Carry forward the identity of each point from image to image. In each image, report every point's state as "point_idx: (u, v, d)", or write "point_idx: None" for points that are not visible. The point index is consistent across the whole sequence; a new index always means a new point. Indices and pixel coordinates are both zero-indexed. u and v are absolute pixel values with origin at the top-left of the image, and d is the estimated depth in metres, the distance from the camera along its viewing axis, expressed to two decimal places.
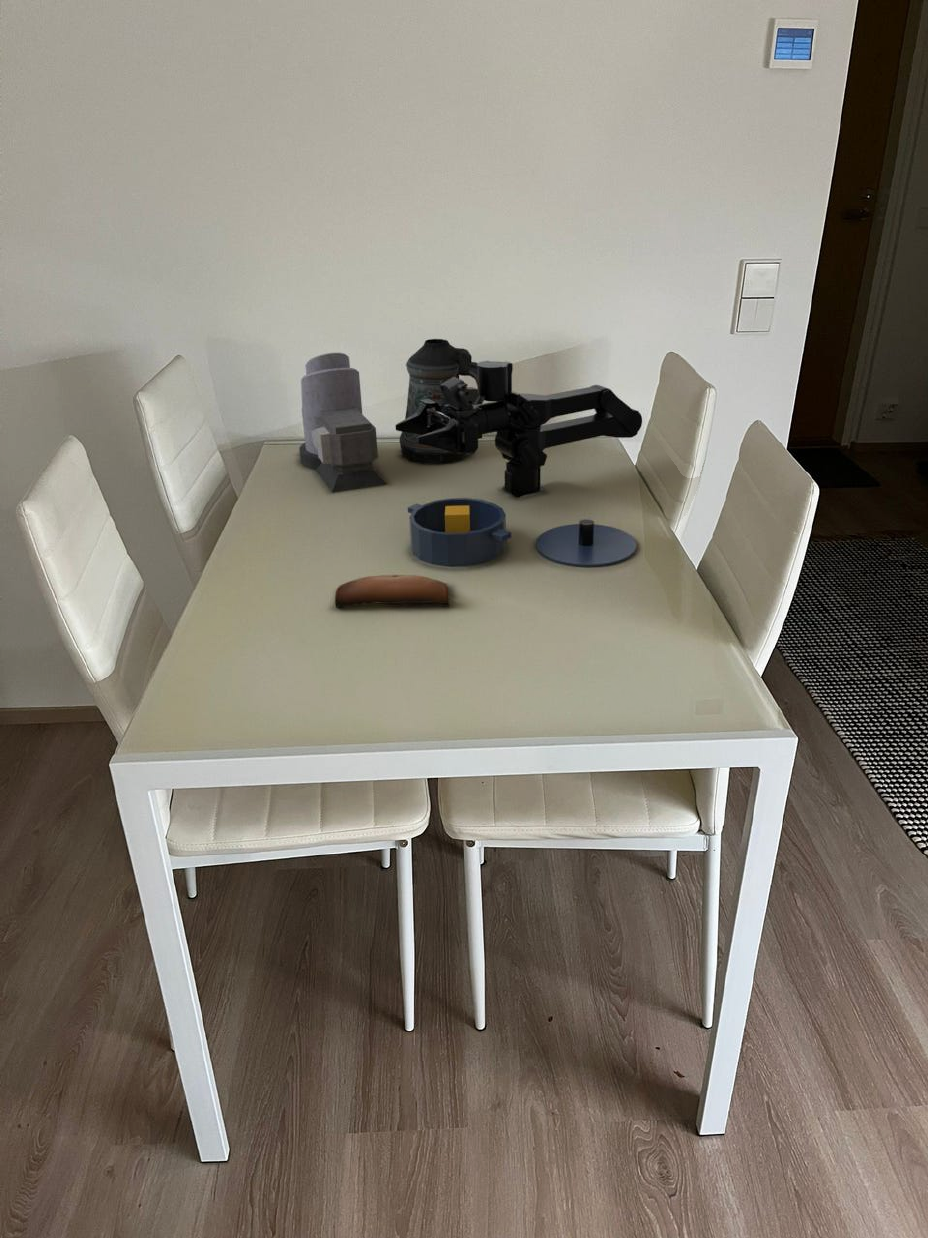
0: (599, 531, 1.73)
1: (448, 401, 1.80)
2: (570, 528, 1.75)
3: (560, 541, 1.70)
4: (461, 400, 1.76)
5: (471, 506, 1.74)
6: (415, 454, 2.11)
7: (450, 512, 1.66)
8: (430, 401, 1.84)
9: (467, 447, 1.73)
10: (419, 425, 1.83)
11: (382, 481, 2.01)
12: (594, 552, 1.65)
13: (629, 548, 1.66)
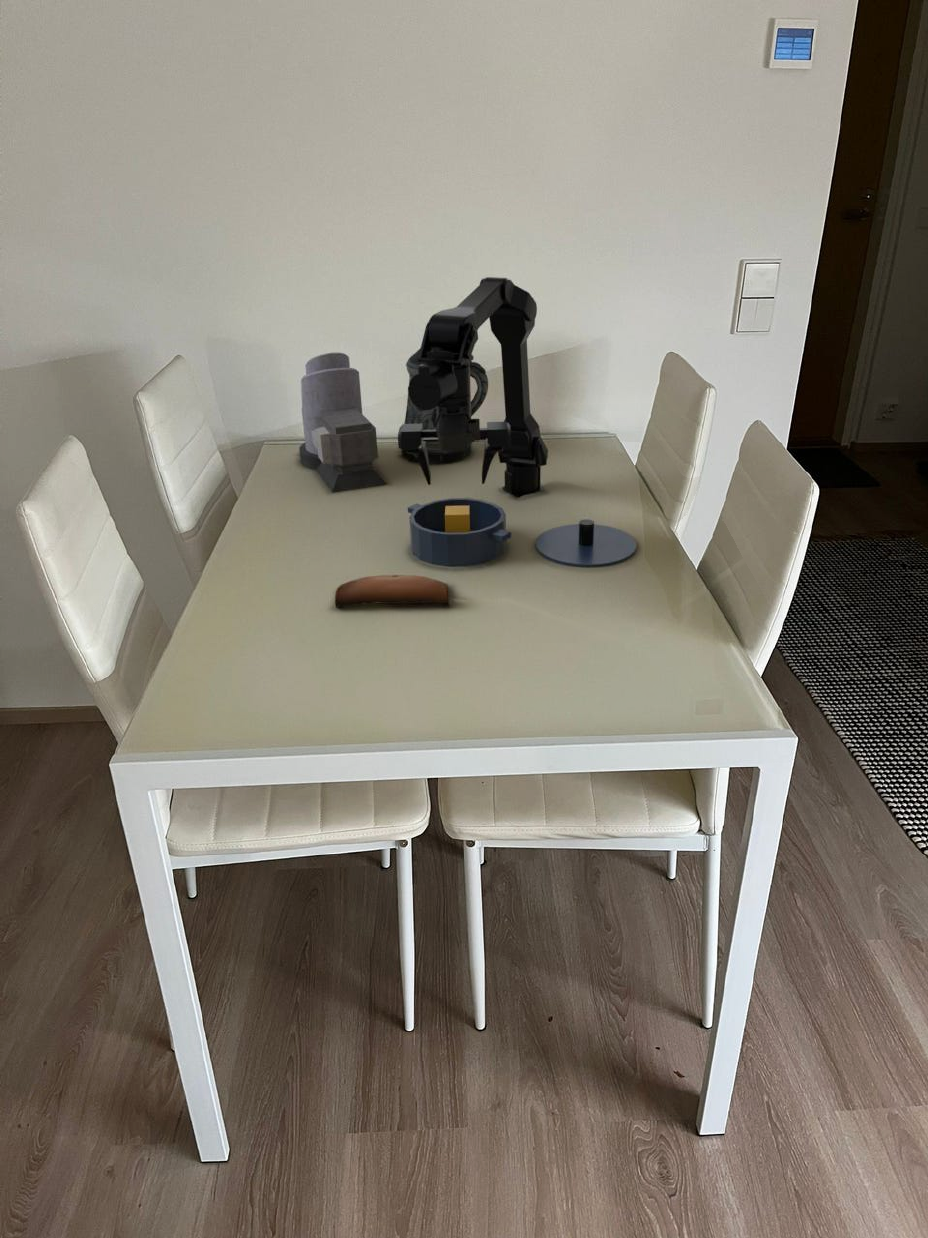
0: (599, 531, 1.73)
1: None
2: (570, 528, 1.75)
3: (560, 541, 1.70)
4: None
5: (471, 506, 1.74)
6: None
7: (450, 512, 1.66)
8: (413, 441, 1.58)
9: None
10: (426, 454, 1.63)
11: (382, 481, 2.01)
12: (594, 552, 1.65)
13: (629, 548, 1.66)
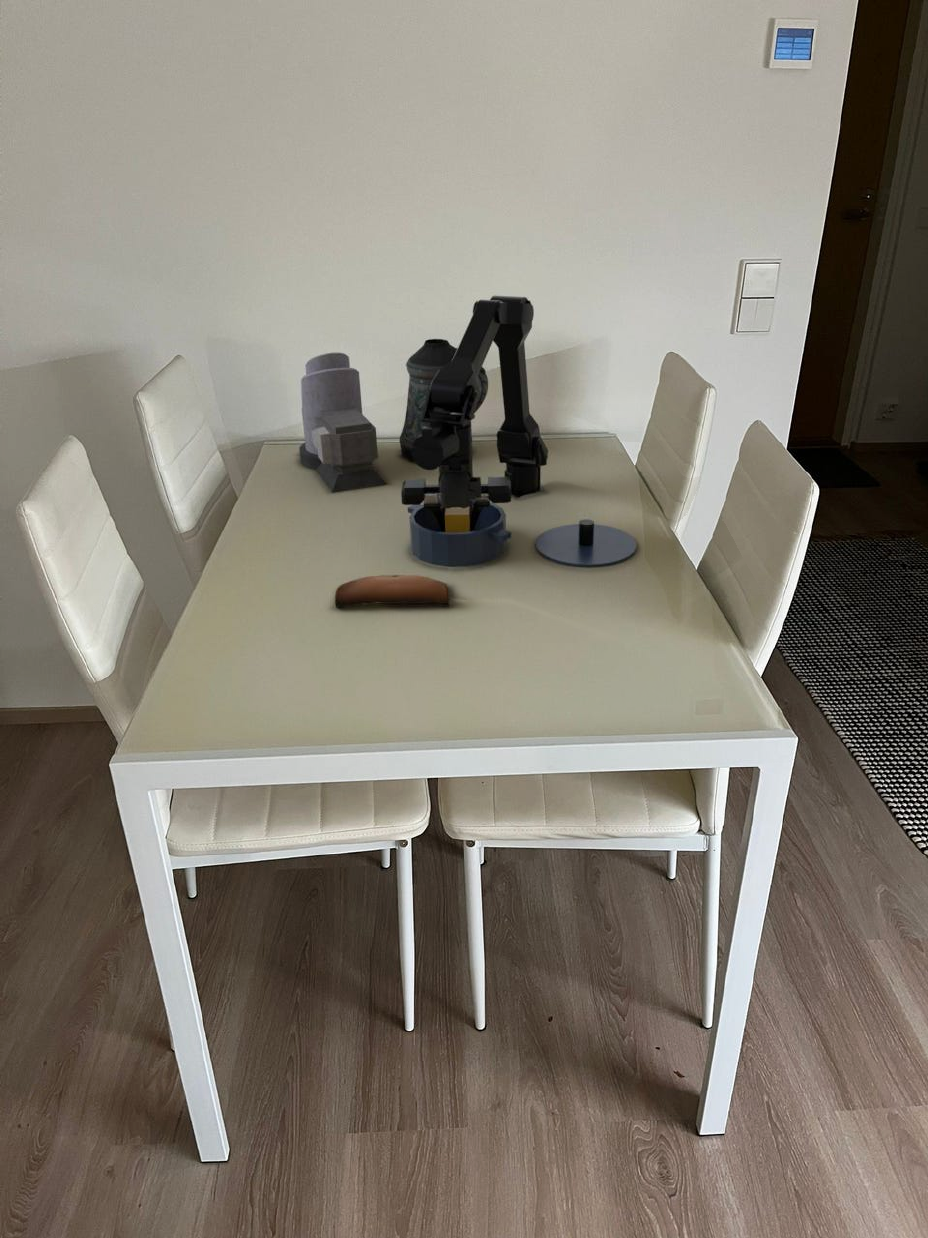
0: (599, 531, 1.73)
1: None
2: (570, 528, 1.75)
3: (560, 541, 1.70)
4: None
5: (471, 506, 1.74)
6: None
7: (450, 512, 1.66)
8: (416, 497, 1.63)
9: None
10: (442, 508, 1.68)
11: (382, 481, 2.01)
12: (594, 552, 1.65)
13: (629, 548, 1.66)
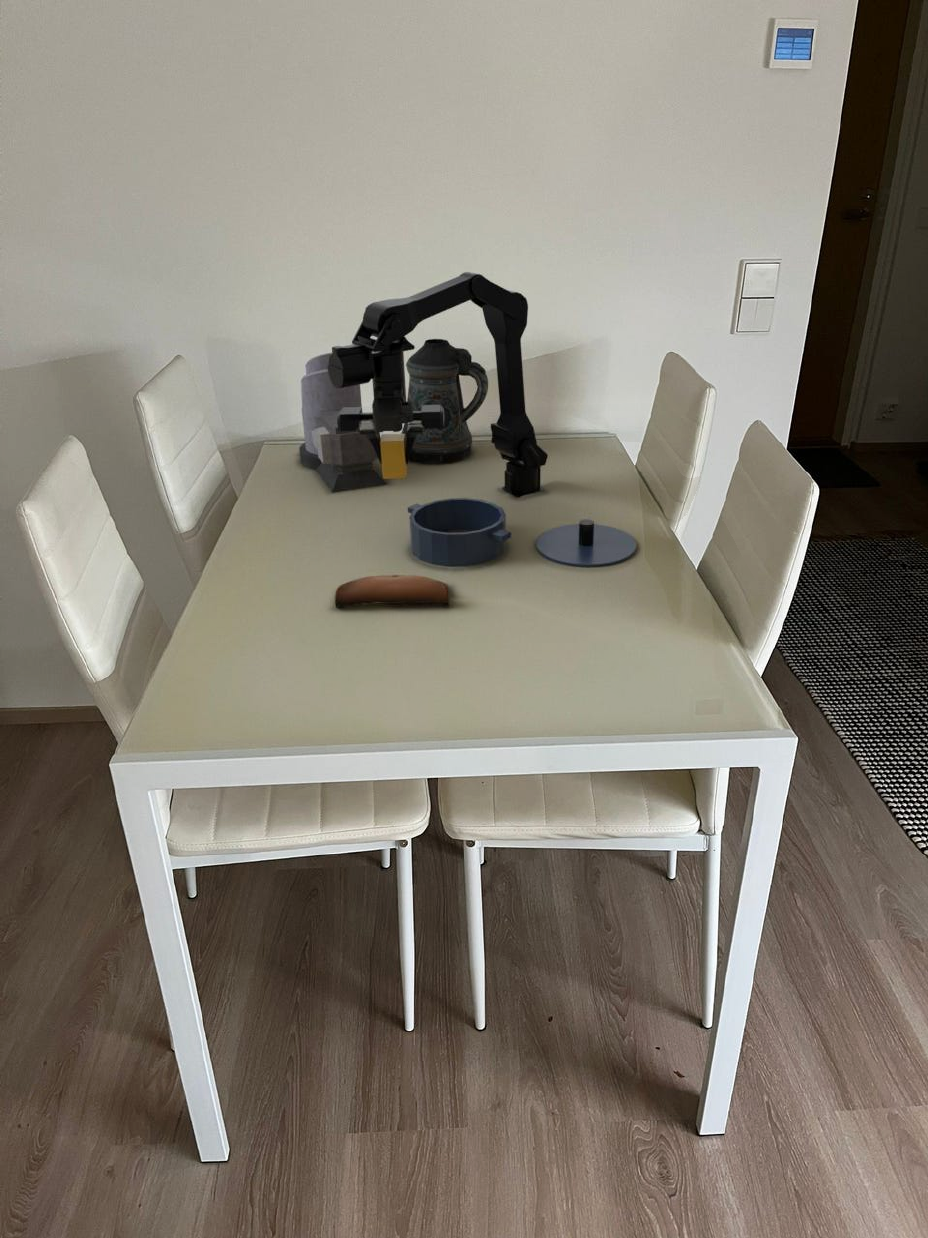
0: (599, 531, 1.73)
1: None
2: (570, 528, 1.75)
3: (560, 541, 1.70)
4: None
5: (471, 506, 1.74)
6: (415, 454, 2.11)
7: (385, 439, 1.72)
8: (351, 423, 1.69)
9: None
10: (378, 436, 1.73)
11: (382, 481, 2.01)
12: (594, 552, 1.65)
13: (629, 548, 1.66)
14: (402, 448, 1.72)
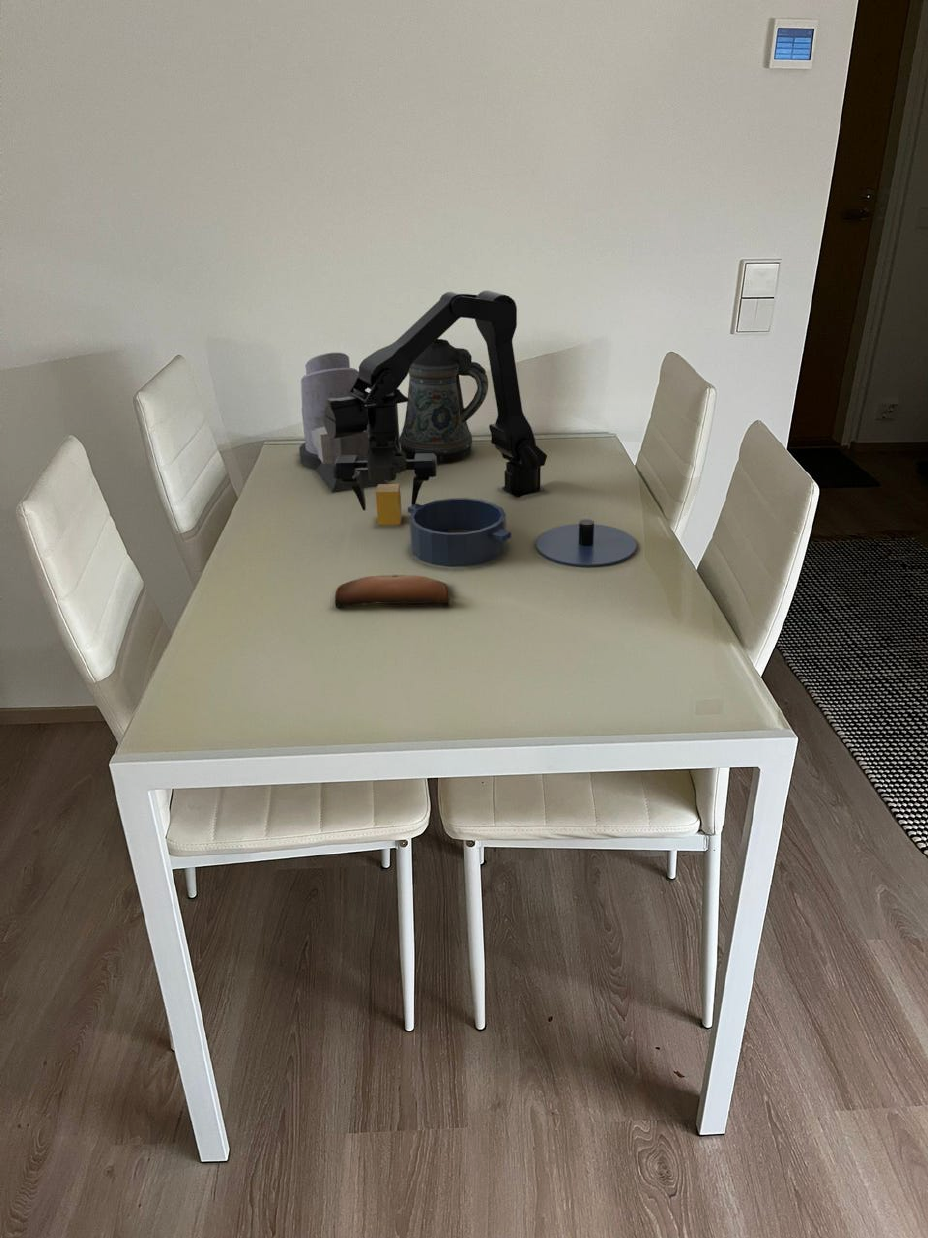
0: (599, 531, 1.73)
1: None
2: (570, 528, 1.75)
3: (560, 541, 1.70)
4: None
5: (471, 506, 1.74)
6: None
7: (380, 489, 1.78)
8: (347, 472, 1.75)
9: None
10: (361, 483, 1.80)
11: (382, 481, 2.01)
12: (594, 552, 1.65)
13: (629, 548, 1.66)
14: (396, 498, 1.78)
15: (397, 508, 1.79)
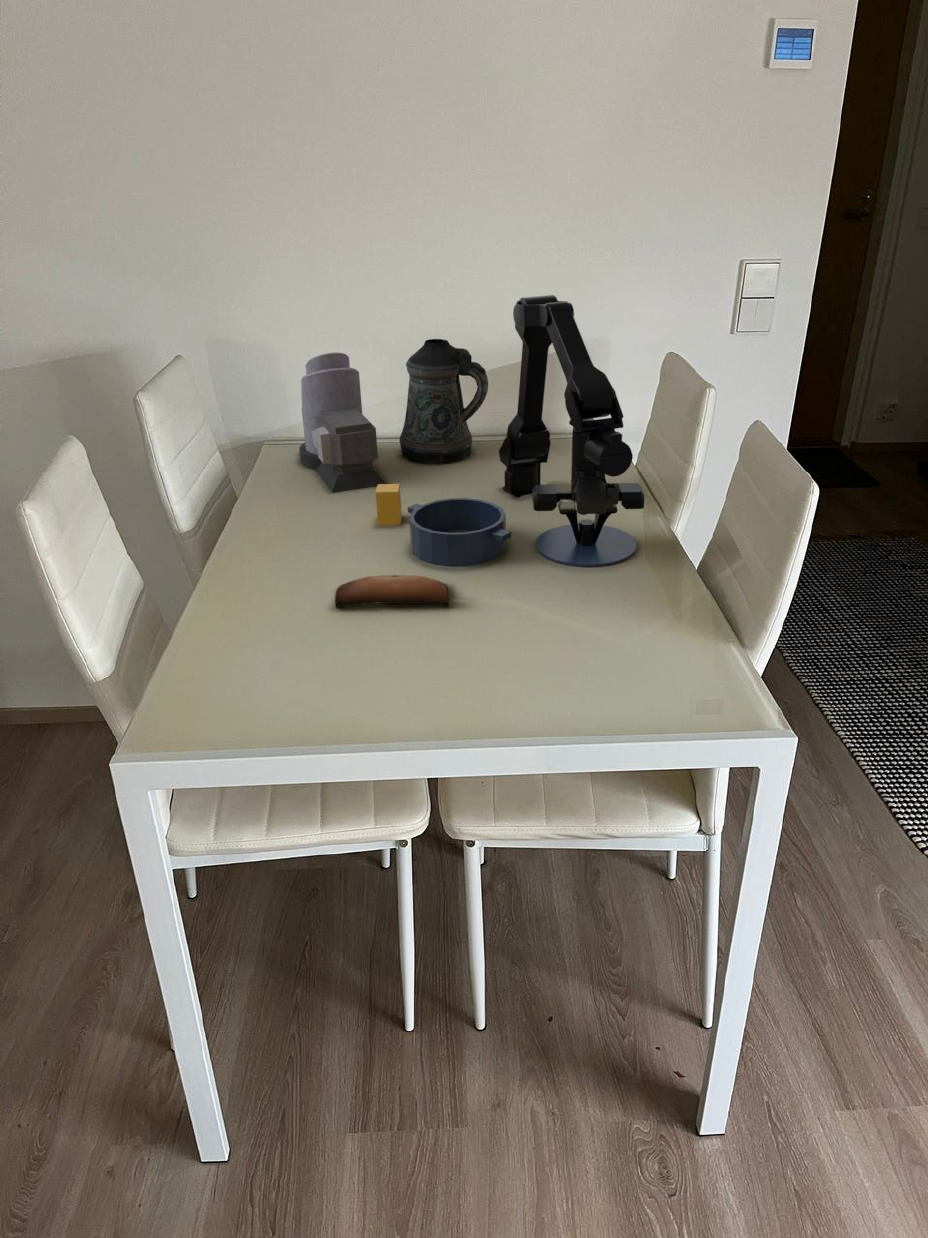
0: None
1: None
2: (570, 528, 1.75)
3: (560, 541, 1.70)
4: None
5: (471, 506, 1.74)
6: (415, 454, 2.11)
7: (380, 489, 1.78)
8: (549, 503, 1.62)
9: None
10: None
11: (382, 481, 2.01)
12: (594, 552, 1.65)
13: (629, 548, 1.66)
14: (396, 498, 1.78)
15: (397, 508, 1.79)
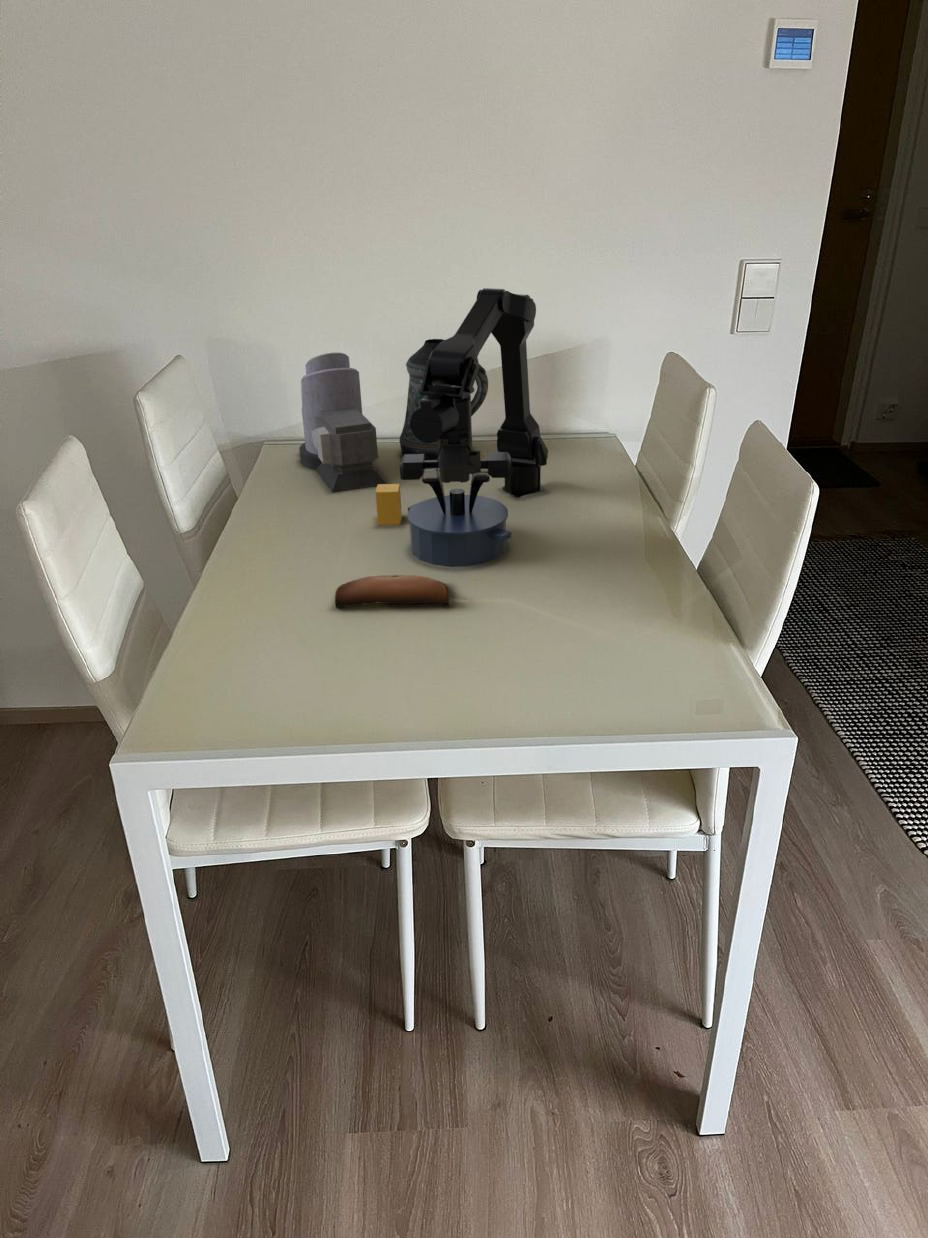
0: None
1: None
2: (446, 499, 1.73)
3: (432, 510, 1.69)
4: None
5: None
6: None
7: (380, 489, 1.78)
8: (415, 472, 1.61)
9: None
10: (441, 484, 1.66)
11: (382, 481, 2.01)
12: (463, 521, 1.64)
13: (499, 517, 1.65)
14: (396, 498, 1.78)
15: (397, 508, 1.79)
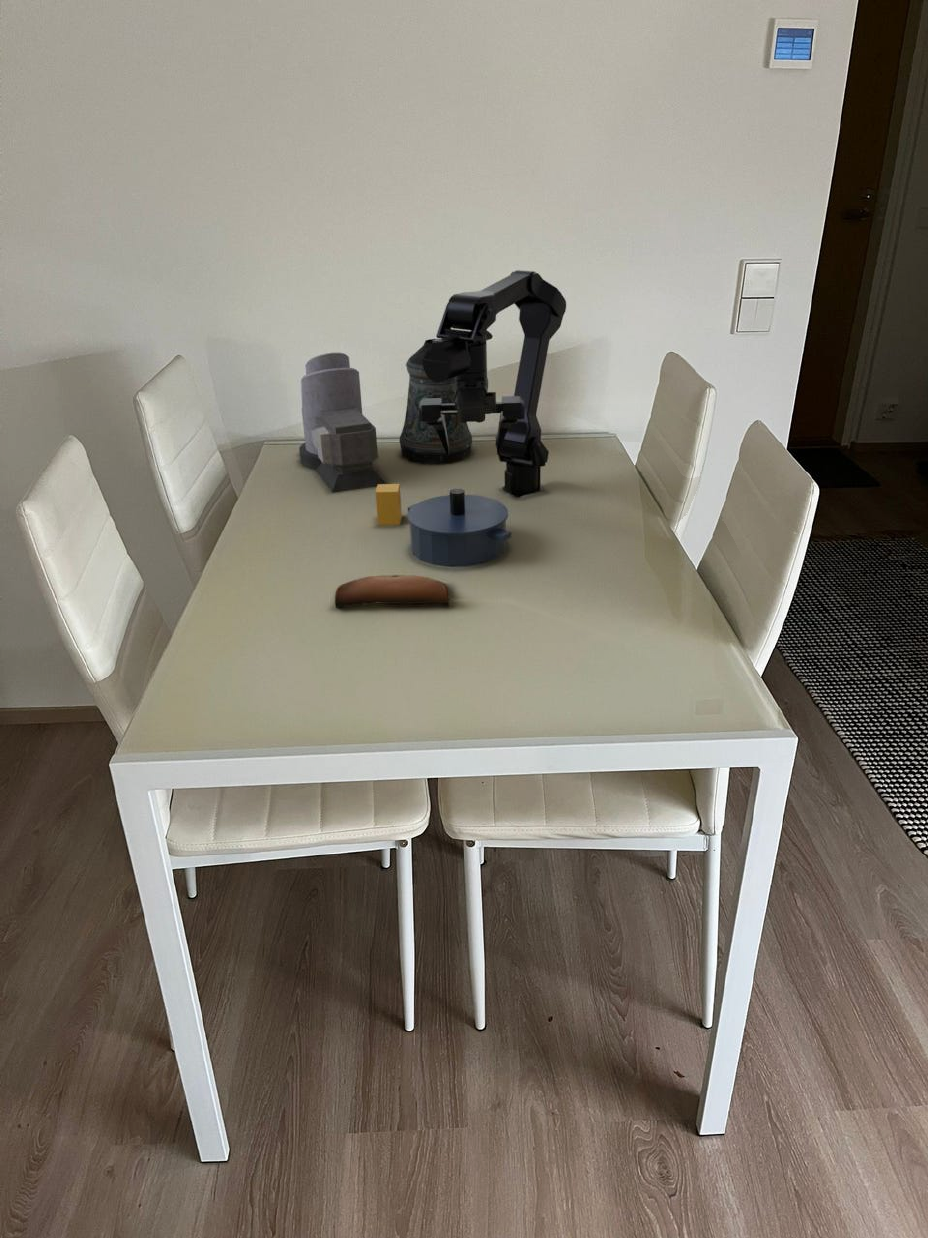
0: (474, 501, 1.72)
1: None
2: (446, 499, 1.73)
3: (432, 510, 1.69)
4: None
5: None
6: (415, 454, 2.11)
7: (380, 489, 1.78)
8: (433, 414, 1.69)
9: None
10: (445, 427, 1.74)
11: (382, 481, 2.01)
12: (463, 521, 1.64)
13: (499, 517, 1.65)
14: (396, 498, 1.78)
15: (397, 508, 1.79)
